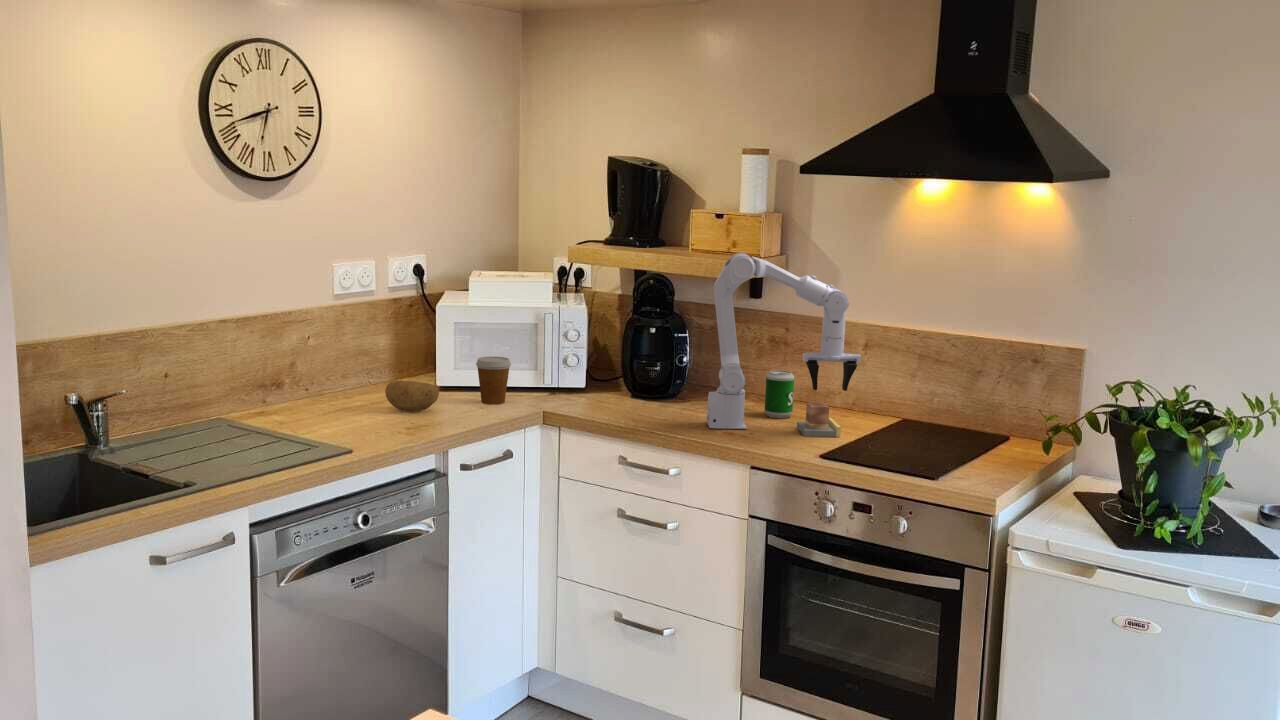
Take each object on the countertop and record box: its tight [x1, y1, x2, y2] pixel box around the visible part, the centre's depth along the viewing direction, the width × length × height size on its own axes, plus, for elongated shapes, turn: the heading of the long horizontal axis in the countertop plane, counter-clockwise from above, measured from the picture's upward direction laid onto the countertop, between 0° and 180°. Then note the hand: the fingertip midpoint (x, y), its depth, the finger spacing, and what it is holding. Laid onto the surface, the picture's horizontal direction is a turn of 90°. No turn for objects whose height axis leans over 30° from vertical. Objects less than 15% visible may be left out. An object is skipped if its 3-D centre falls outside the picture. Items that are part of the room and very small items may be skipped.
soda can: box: [764, 369, 795, 419], centre depth 301 cm, size 8×8×12 cm
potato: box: [384, 380, 440, 413], centre depth 293 cm, size 10×14×8 cm
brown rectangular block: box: [804, 401, 830, 430], centre depth 284 cm, size 4×6×6 cm
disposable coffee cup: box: [475, 356, 512, 405], centre depth 306 cm, size 10×10×12 cm
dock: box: [796, 417, 842, 438], centre depth 285 cm, size 9×10×3 cm
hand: (829, 389), depth 286 cm, fingers open, 7 cm apart
